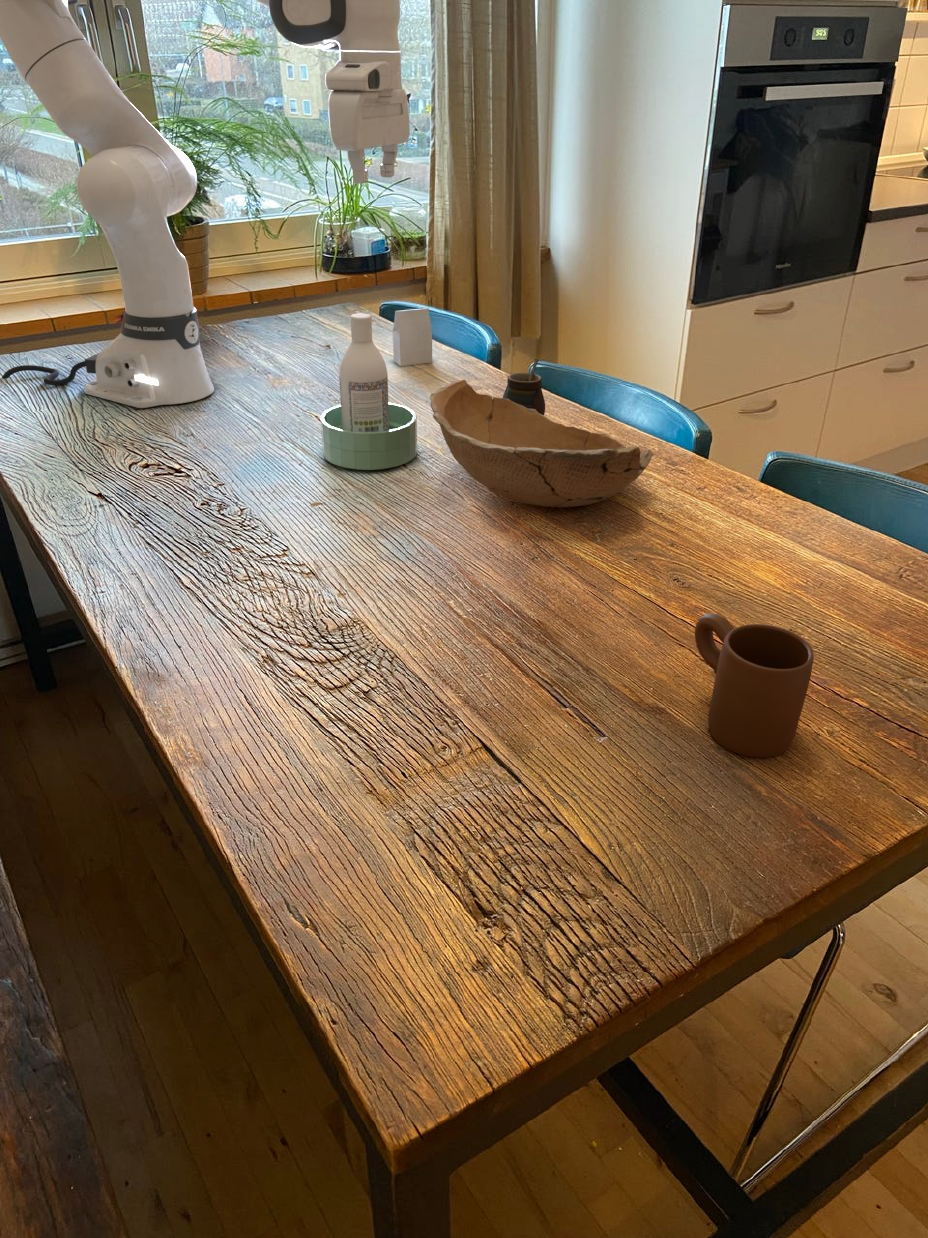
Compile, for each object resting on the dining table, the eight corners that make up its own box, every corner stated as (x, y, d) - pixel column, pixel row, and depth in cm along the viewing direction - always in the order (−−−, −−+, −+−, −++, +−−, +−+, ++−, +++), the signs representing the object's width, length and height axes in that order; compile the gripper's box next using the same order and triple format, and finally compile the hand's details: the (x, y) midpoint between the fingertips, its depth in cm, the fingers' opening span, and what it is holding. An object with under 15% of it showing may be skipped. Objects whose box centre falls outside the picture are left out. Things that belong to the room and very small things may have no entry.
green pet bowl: (306, 464, 134) (303, 425, 131) (349, 433, 145) (348, 396, 142) (393, 478, 130) (392, 438, 127) (430, 446, 141) (430, 408, 138)
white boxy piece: (432, 362, 180) (432, 310, 175) (400, 366, 178) (399, 313, 172) (424, 357, 183) (424, 306, 178) (393, 361, 180) (392, 308, 175)
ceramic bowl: (671, 461, 133) (678, 364, 123) (614, 569, 114) (617, 465, 105) (483, 433, 144) (475, 342, 134) (403, 527, 125) (388, 430, 116)
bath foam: (398, 452, 137) (395, 316, 127) (360, 463, 134) (353, 323, 123) (372, 439, 142) (367, 307, 131) (334, 449, 138) (326, 313, 128)
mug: (656, 698, 86) (670, 612, 81) (716, 675, 90) (733, 592, 85) (748, 772, 78) (769, 681, 73) (811, 744, 81) (835, 656, 76)
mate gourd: (493, 428, 148) (495, 367, 143) (509, 414, 154) (511, 355, 149) (535, 435, 146) (539, 373, 141) (549, 420, 152) (553, 360, 147)
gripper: (381, 74, 142) (384, 172, 150) (318, 75, 126) (325, 185, 133) (418, 74, 141) (419, 174, 148) (359, 76, 124) (363, 187, 131)
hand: (374, 179), depth 140 cm, fingers open, 8 cm apart
